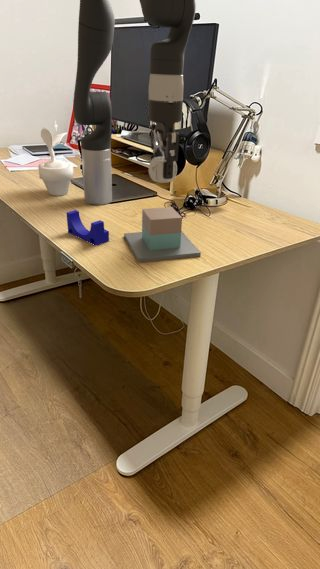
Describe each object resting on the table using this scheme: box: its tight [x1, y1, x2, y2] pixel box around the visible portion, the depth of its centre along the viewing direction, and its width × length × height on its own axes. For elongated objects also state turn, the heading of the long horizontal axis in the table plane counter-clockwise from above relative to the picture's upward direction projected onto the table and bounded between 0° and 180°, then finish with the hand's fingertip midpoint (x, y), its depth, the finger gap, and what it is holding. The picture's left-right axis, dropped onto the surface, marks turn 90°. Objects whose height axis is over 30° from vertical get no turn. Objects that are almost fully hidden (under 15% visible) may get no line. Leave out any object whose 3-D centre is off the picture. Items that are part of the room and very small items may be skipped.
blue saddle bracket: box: [66, 209, 110, 246], centre depth 106 cm, size 12×4×6 cm, turn 47°
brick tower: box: [123, 206, 202, 263], centre depth 102 cm, size 16×16×9 cm
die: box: [148, 156, 178, 184], centre depth 94 cm, size 5×5×5 cm
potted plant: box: [37, 119, 74, 197], centre depth 134 cm, size 13×12×25 cm
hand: (162, 174), depth 95 cm, fingers closed on die, 7 cm apart
